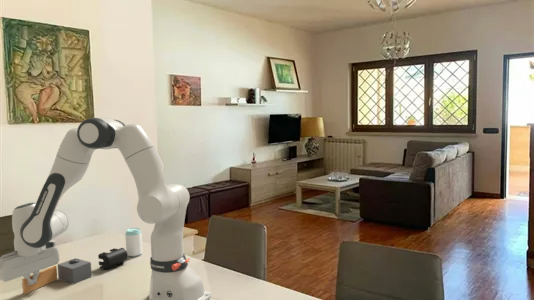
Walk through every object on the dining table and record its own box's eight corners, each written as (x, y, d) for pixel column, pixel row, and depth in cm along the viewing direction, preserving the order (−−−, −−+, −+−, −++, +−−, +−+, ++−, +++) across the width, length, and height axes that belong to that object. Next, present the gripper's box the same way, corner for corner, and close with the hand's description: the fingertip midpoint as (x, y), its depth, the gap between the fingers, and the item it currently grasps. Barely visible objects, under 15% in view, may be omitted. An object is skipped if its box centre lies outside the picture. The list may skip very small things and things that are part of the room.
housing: (91, 276, 159) (90, 260, 159) (73, 283, 153) (72, 267, 152) (76, 272, 165) (75, 256, 164) (58, 279, 158) (57, 263, 157)
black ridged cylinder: (109, 271, 165) (108, 255, 164) (98, 268, 168) (97, 253, 167) (128, 263, 173) (127, 248, 173) (116, 261, 177) (116, 246, 176)
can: (145, 252, 187) (143, 227, 186) (138, 257, 180) (136, 231, 179) (131, 251, 188) (129, 227, 187) (123, 257, 181) (122, 231, 180)
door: (24, 294, 144) (23, 279, 144) (21, 293, 145) (20, 279, 144) (57, 279, 157) (56, 265, 157) (54, 278, 158) (53, 265, 157)
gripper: (2, 257, 134) (6, 297, 135) (60, 240, 151) (63, 275, 152) (-7, 255, 137) (-4, 293, 138) (50, 238, 154) (53, 272, 156)
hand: (32, 283), depth 145 cm, fingers closed
